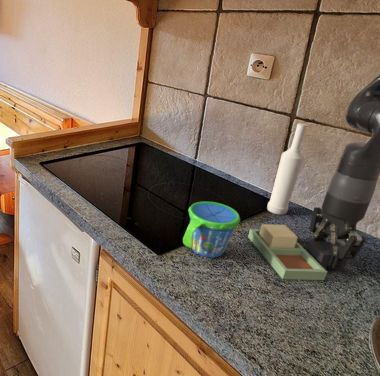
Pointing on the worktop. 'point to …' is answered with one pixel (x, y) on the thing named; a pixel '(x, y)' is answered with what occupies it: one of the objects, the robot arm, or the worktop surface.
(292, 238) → the foam pad
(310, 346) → the worktop surface
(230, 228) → the snack cup
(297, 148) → the bottle
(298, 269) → the frame
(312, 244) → the dark gray block
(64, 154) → the worktop surface
